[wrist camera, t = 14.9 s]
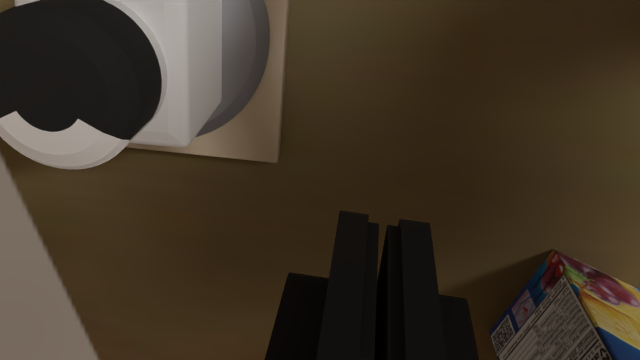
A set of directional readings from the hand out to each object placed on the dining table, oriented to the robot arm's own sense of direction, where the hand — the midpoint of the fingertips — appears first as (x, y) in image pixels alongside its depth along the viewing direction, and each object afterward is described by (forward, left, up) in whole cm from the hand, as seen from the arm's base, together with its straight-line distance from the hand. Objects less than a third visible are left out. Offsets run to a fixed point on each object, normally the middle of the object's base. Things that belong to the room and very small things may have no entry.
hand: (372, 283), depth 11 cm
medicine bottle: (+11, 0, -22) cm, 24 cm away
